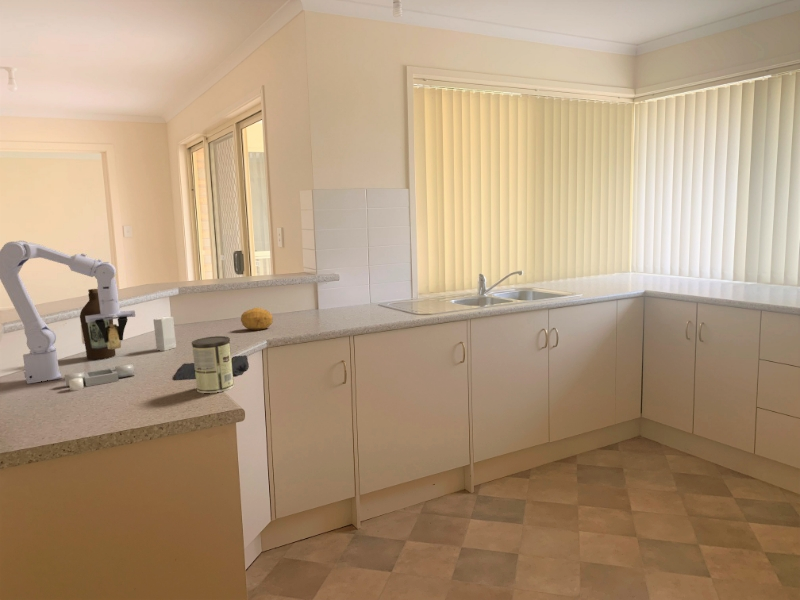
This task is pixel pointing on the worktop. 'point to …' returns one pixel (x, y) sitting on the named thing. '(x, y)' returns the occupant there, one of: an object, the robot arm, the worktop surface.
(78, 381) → the pipe cap
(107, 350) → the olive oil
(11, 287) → the robot arm
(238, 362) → the dark slate chunk
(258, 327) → the potato
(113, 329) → the gold metal cylinder
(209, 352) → the coffee can
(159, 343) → the skincare box
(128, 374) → the fitting socket
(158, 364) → the worktop surface
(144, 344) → the worktop surface
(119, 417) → the worktop surface
